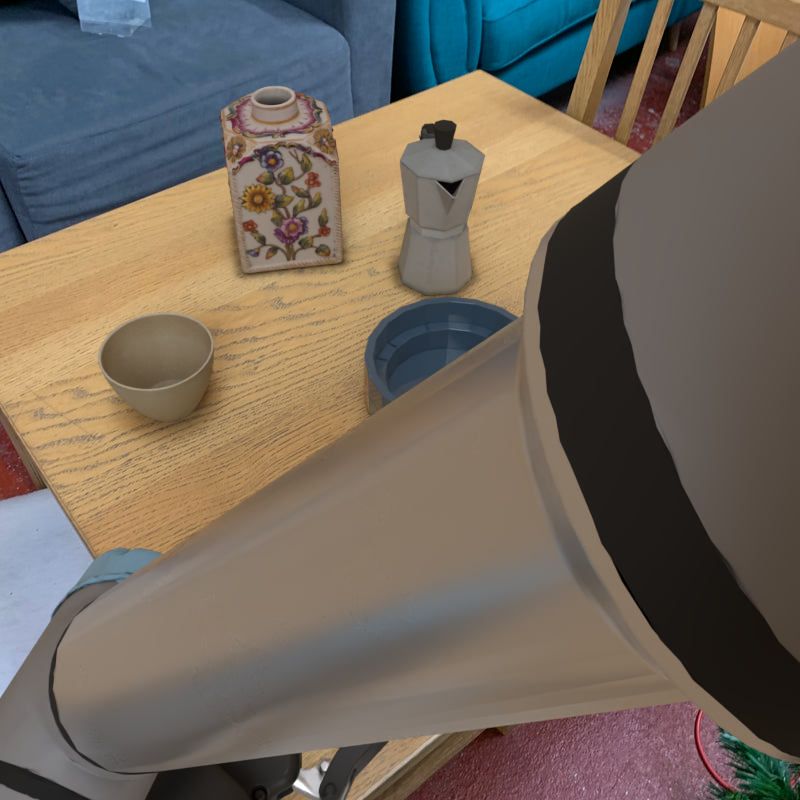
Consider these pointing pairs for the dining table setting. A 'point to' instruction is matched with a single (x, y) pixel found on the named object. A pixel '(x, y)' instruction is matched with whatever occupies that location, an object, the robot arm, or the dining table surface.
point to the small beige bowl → (159, 363)
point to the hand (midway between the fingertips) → (393, 525)
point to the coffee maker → (438, 209)
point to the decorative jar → (283, 180)
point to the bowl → (424, 343)
